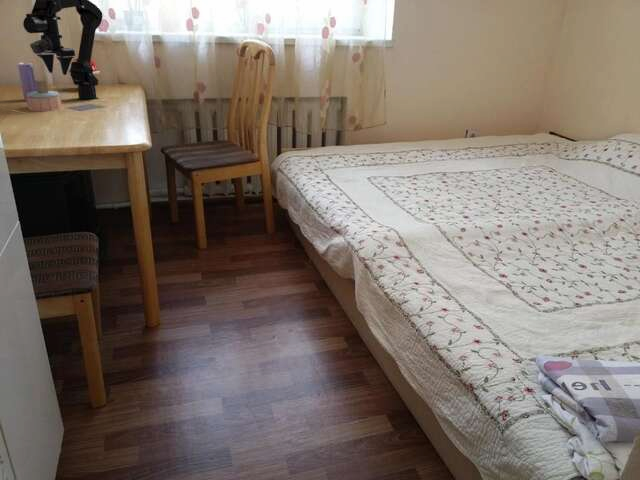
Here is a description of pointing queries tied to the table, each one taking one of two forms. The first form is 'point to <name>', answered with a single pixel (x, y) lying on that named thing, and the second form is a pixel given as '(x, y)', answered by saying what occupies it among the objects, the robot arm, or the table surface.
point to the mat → (85, 107)
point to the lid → (42, 91)
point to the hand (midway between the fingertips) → (57, 73)
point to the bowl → (44, 103)
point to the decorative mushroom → (95, 70)
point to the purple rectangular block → (27, 78)
